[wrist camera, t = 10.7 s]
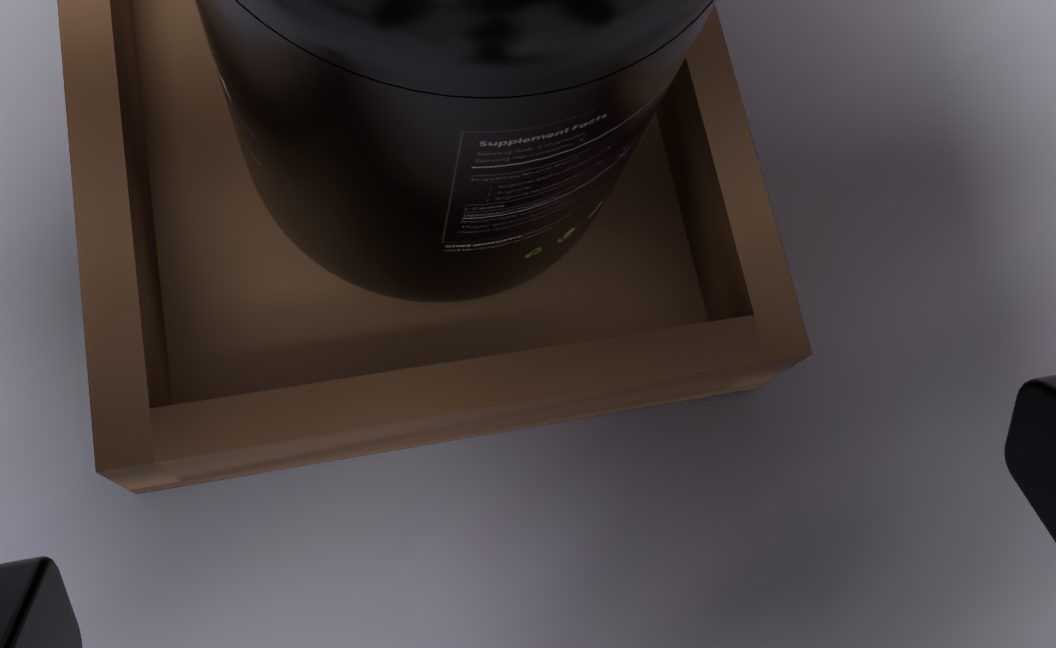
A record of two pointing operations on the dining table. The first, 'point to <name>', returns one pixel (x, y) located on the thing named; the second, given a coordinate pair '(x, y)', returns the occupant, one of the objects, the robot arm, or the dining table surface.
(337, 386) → the walnut holder
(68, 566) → the dining table surface
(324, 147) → the supplement bottle
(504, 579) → the dining table surface
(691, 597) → the dining table surface
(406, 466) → the dining table surface
